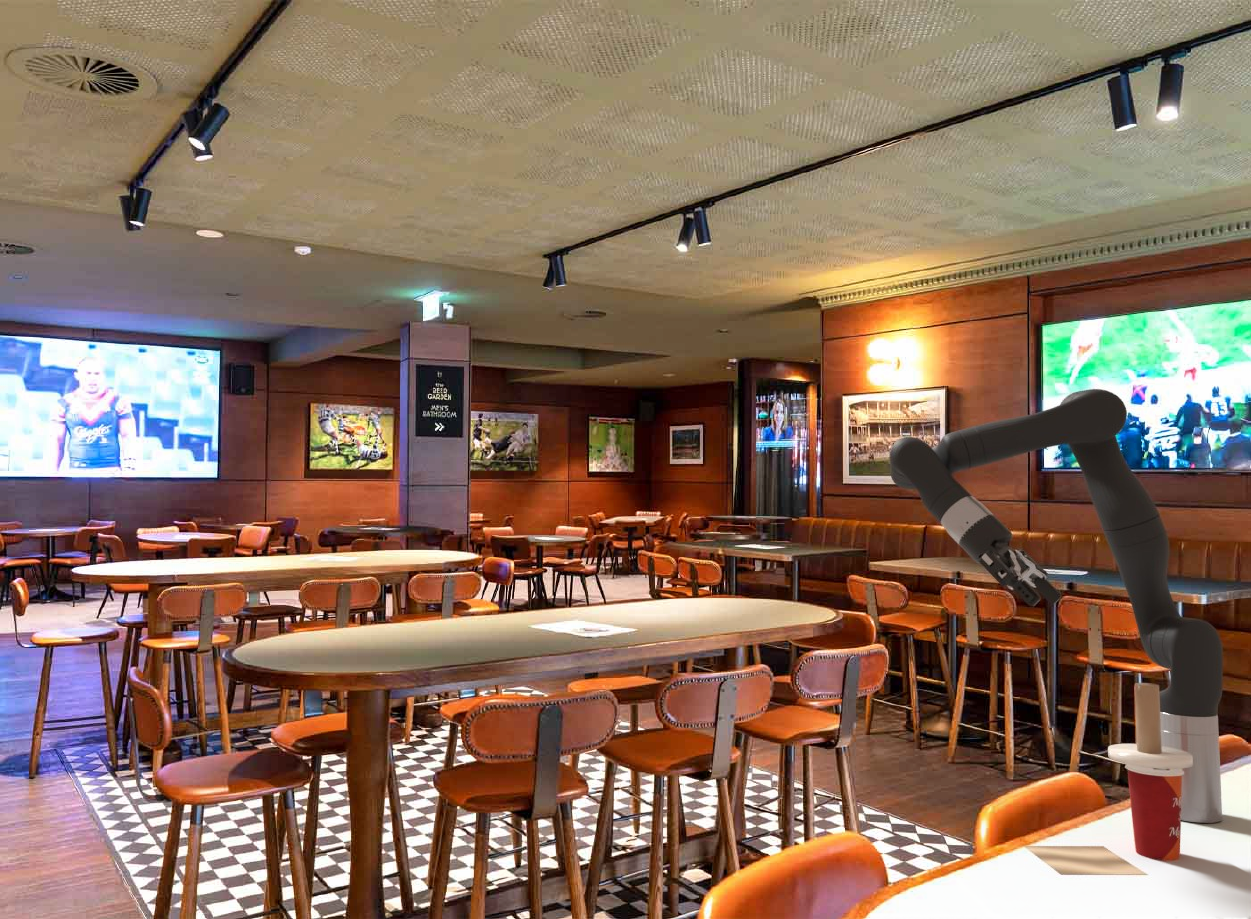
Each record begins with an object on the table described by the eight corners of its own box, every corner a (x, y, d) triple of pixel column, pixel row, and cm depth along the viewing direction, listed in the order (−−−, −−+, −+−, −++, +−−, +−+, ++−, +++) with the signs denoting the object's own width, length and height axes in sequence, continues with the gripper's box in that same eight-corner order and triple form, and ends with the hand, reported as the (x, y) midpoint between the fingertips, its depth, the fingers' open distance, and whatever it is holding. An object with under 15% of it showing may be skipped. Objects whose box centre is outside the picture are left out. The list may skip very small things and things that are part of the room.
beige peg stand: (1094, 751, 146) (1091, 679, 147) (1165, 751, 147) (1162, 679, 147) (1132, 768, 136) (1129, 690, 136) (1209, 769, 136) (1206, 690, 137)
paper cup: (1196, 869, 135) (1192, 768, 136) (1137, 865, 137) (1134, 765, 138) (1176, 851, 143) (1172, 755, 144) (1120, 847, 144) (1117, 753, 145)
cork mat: (1023, 850, 143) (1023, 846, 143) (1103, 850, 143) (1103, 846, 143) (1060, 878, 131) (1060, 874, 131) (1147, 879, 131) (1147, 874, 131)
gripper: (971, 512, 153) (1046, 587, 144) (1008, 514, 163) (1080, 584, 154) (941, 545, 156) (1012, 620, 147) (979, 544, 166) (1048, 615, 157)
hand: (1047, 601), depth 151 cm, fingers open, 8 cm apart
